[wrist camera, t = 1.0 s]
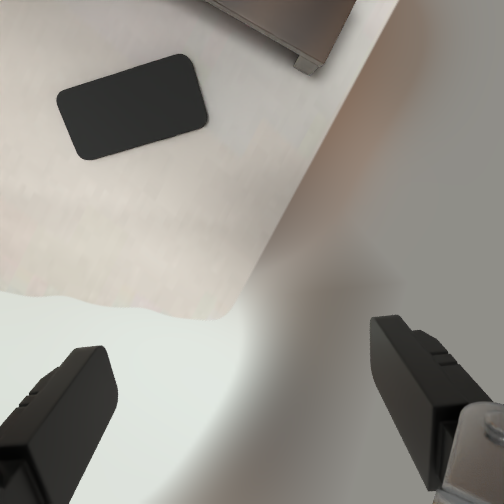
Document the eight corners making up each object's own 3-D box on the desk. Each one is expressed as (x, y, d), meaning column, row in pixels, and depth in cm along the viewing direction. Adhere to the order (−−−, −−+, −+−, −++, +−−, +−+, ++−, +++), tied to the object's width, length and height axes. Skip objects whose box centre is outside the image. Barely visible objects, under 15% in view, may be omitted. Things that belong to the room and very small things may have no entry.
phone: (51, 92, 37) (187, 49, 35) (56, 93, 37) (189, 51, 36) (80, 163, 39) (209, 125, 37) (84, 162, 40) (210, 125, 38)
